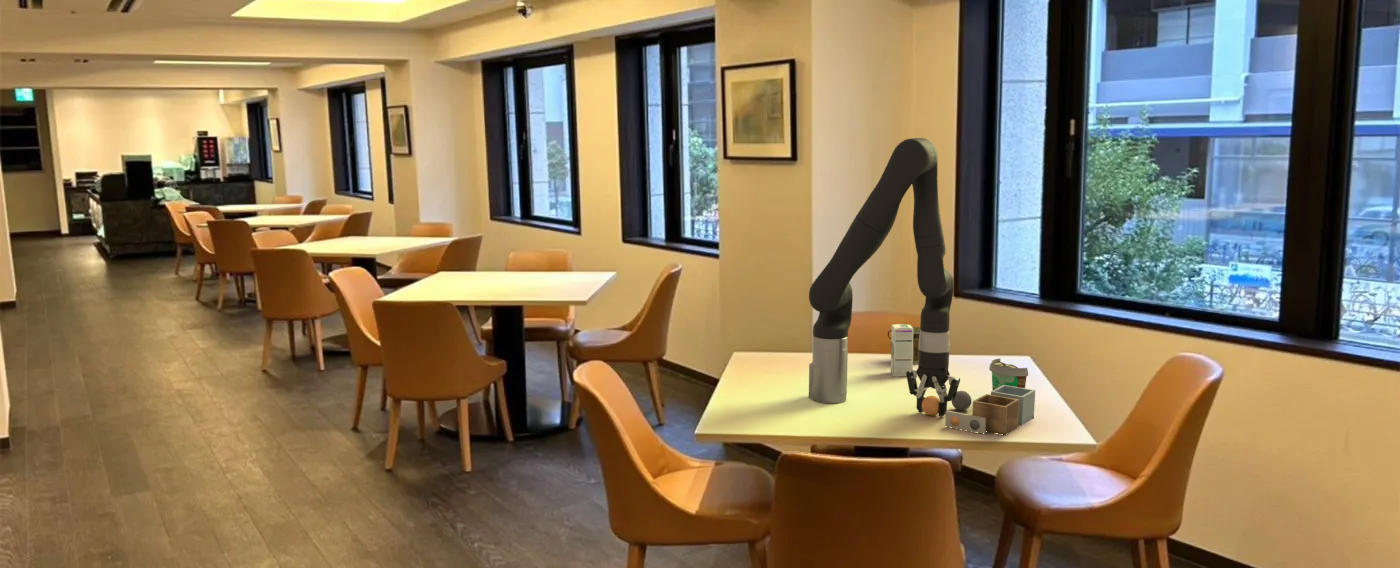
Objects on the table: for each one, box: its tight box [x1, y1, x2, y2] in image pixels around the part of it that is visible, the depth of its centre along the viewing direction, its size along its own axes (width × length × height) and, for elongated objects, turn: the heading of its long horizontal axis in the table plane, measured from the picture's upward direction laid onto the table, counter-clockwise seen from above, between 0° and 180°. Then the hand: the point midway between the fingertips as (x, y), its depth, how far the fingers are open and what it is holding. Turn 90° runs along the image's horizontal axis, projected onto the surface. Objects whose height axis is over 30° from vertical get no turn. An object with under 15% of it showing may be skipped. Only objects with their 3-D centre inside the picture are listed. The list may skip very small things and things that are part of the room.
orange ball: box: [922, 395, 940, 416], centre depth 256 cm, size 5×5×5 cm
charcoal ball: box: [950, 390, 972, 411], centre depth 260 cm, size 5×5×5 cm
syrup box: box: [890, 323, 914, 378], centre depth 296 cm, size 6×6×14 cm
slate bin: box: [990, 385, 1036, 426], centre depth 253 cm, size 8×8×7 cm
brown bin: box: [971, 393, 1019, 436], centre depth 244 cm, size 8×8×7 cm
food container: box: [988, 358, 1029, 391], centre depth 269 cm, size 12×6×10 cm, turn 21°
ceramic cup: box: [887, 326, 920, 365], centre depth 312 cm, size 13×10×10 cm
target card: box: [944, 410, 987, 435], centre depth 243 cm, size 10×1×4 cm, turn 52°
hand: (931, 413), depth 256 cm, fingers closed on orange ball, 5 cm apart
